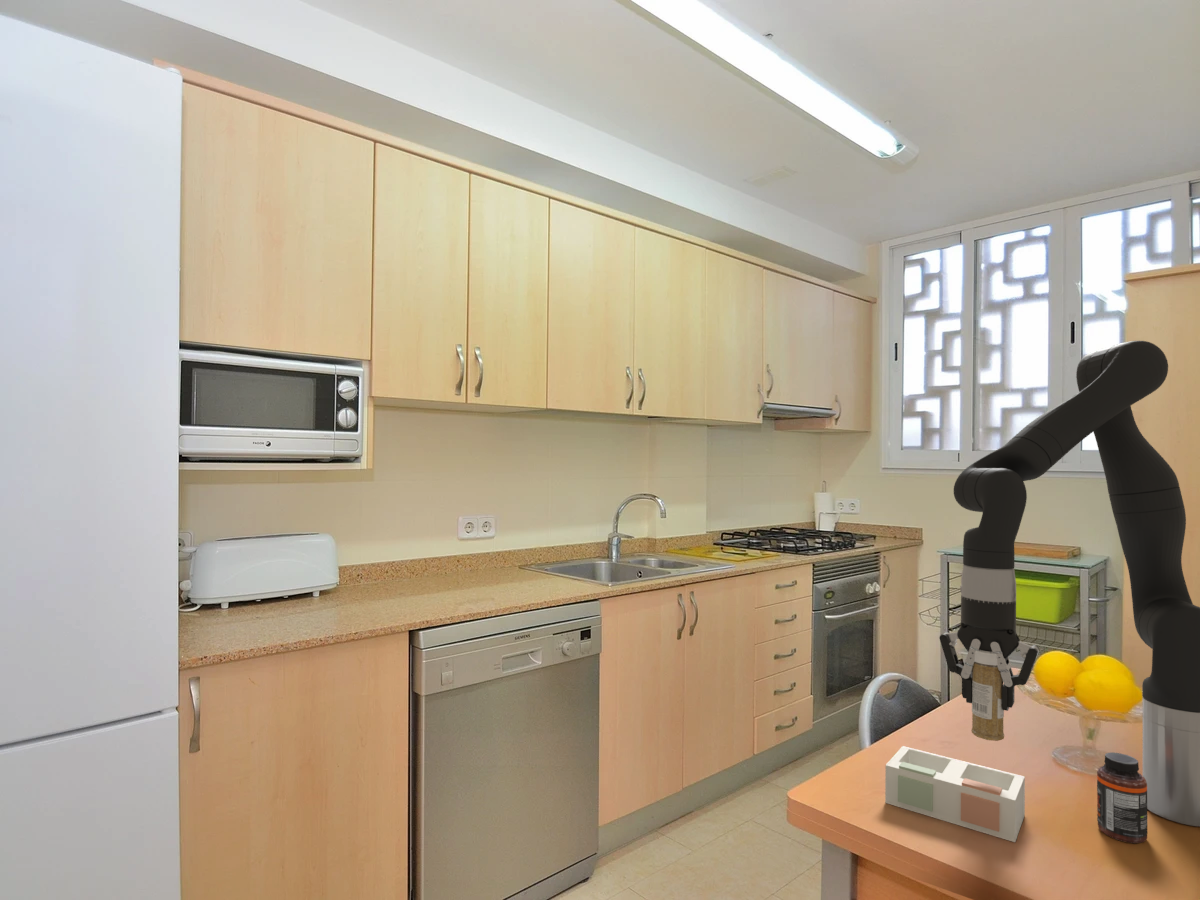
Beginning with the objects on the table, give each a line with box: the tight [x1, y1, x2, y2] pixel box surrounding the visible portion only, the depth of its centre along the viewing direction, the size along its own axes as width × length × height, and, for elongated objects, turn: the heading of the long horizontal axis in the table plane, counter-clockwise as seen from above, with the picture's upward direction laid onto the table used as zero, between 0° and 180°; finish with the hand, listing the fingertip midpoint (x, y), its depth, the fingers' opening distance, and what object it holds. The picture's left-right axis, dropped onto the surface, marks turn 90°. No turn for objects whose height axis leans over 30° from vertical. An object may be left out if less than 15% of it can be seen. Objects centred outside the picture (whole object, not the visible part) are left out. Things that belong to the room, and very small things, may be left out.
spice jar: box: [971, 650, 1005, 742], centre depth 107 cm, size 5×5×14 cm
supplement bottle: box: [1096, 751, 1148, 844], centre depth 102 cm, size 6×6×11 cm
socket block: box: [884, 745, 1026, 843], centre depth 108 cm, size 18×10×6 cm, turn 52°
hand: (987, 704), depth 107 cm, fingers closed on spice jar, 4 cm apart
